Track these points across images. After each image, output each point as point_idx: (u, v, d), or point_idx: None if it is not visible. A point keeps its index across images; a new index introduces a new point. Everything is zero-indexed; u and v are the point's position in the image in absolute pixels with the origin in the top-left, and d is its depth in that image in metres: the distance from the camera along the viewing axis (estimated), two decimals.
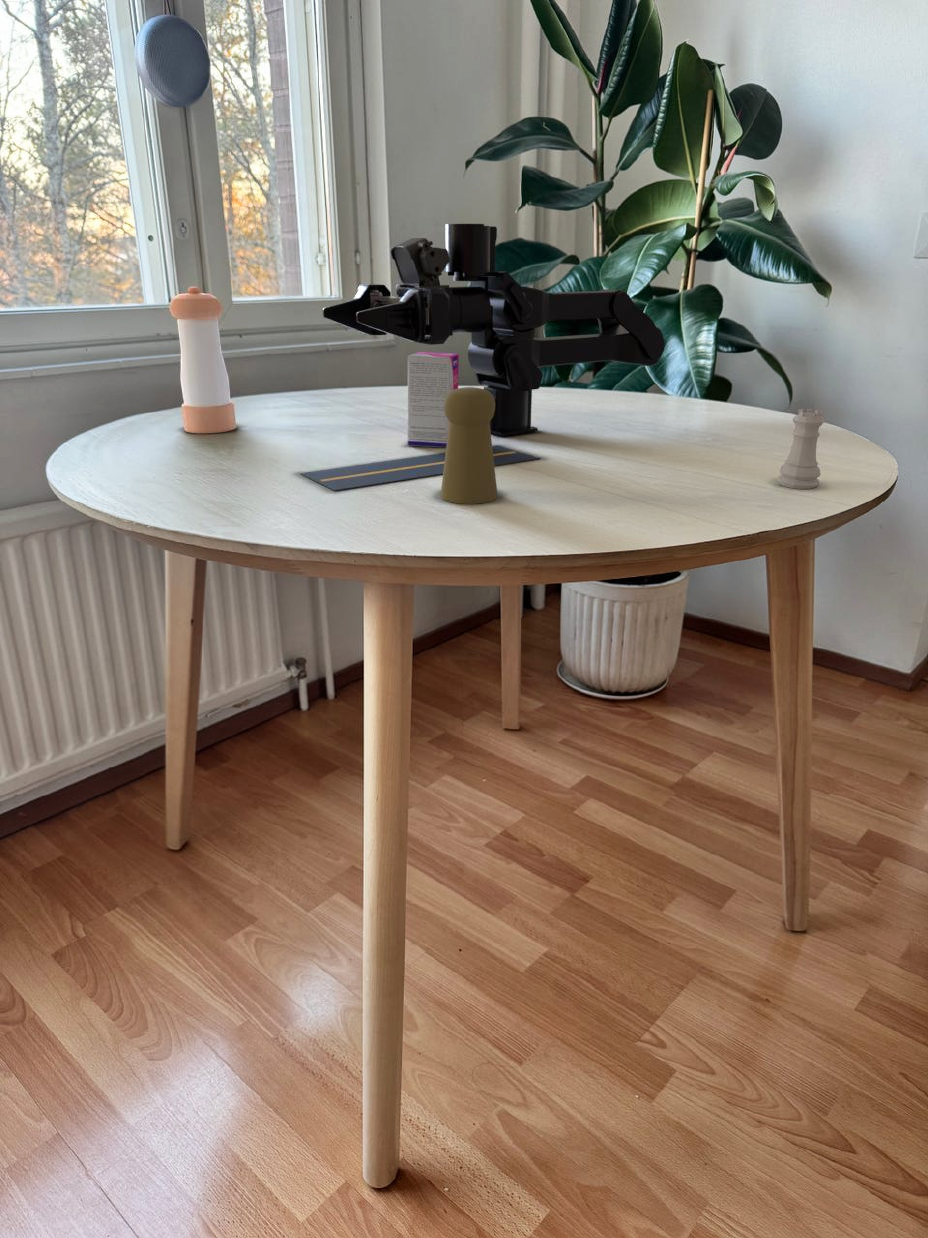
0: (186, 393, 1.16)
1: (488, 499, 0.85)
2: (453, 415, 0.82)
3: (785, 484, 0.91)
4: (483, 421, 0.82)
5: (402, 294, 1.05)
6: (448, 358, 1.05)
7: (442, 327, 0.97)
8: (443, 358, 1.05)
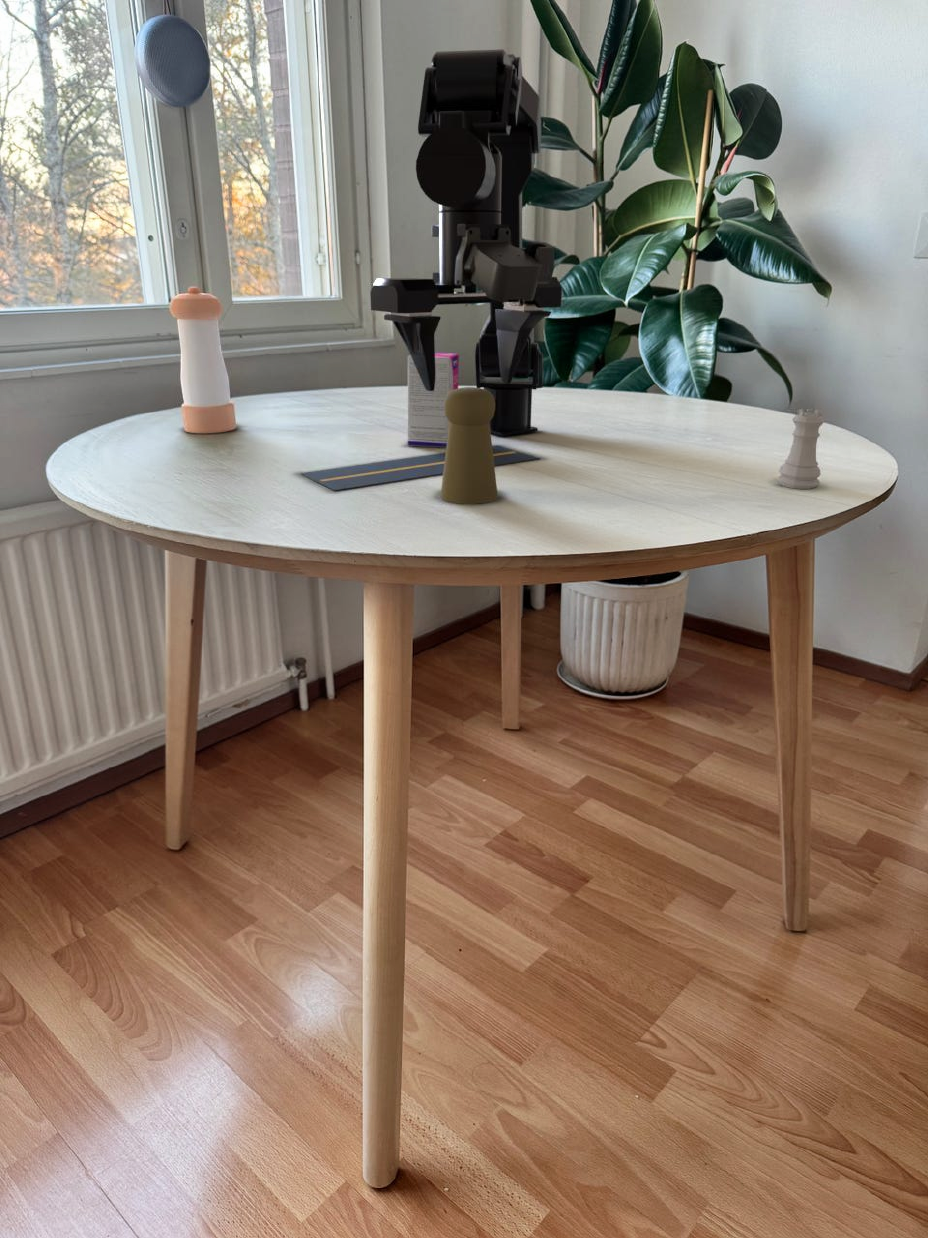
0: (186, 393, 1.16)
1: (488, 499, 0.85)
2: (453, 415, 0.82)
3: (785, 484, 0.91)
4: (483, 421, 0.82)
5: None
6: (448, 358, 1.05)
7: None
8: (443, 358, 1.05)
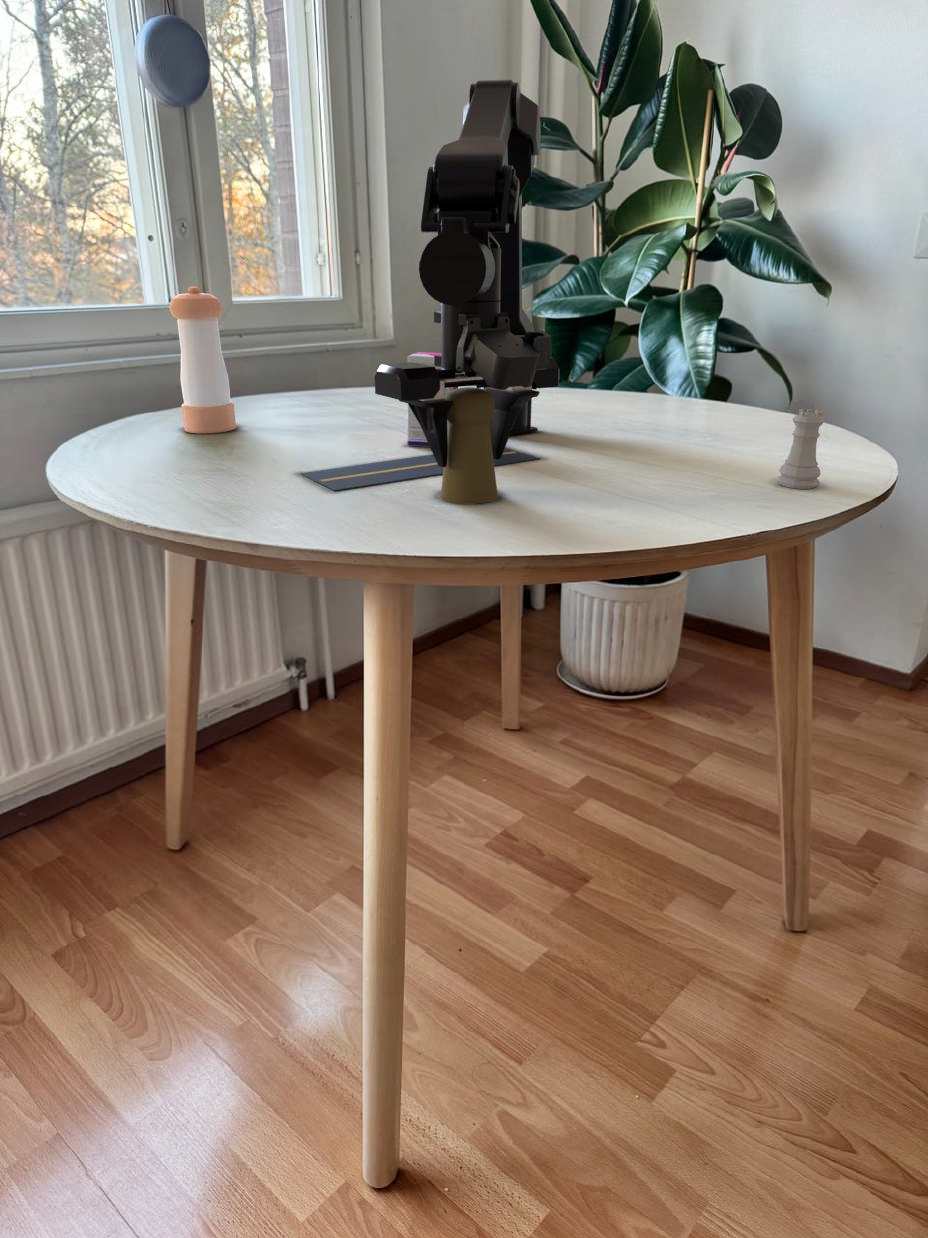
0: (186, 393, 1.16)
1: (488, 499, 0.85)
2: (452, 415, 0.82)
3: (785, 484, 0.91)
4: (482, 421, 0.82)
5: None
6: None
7: None
8: None
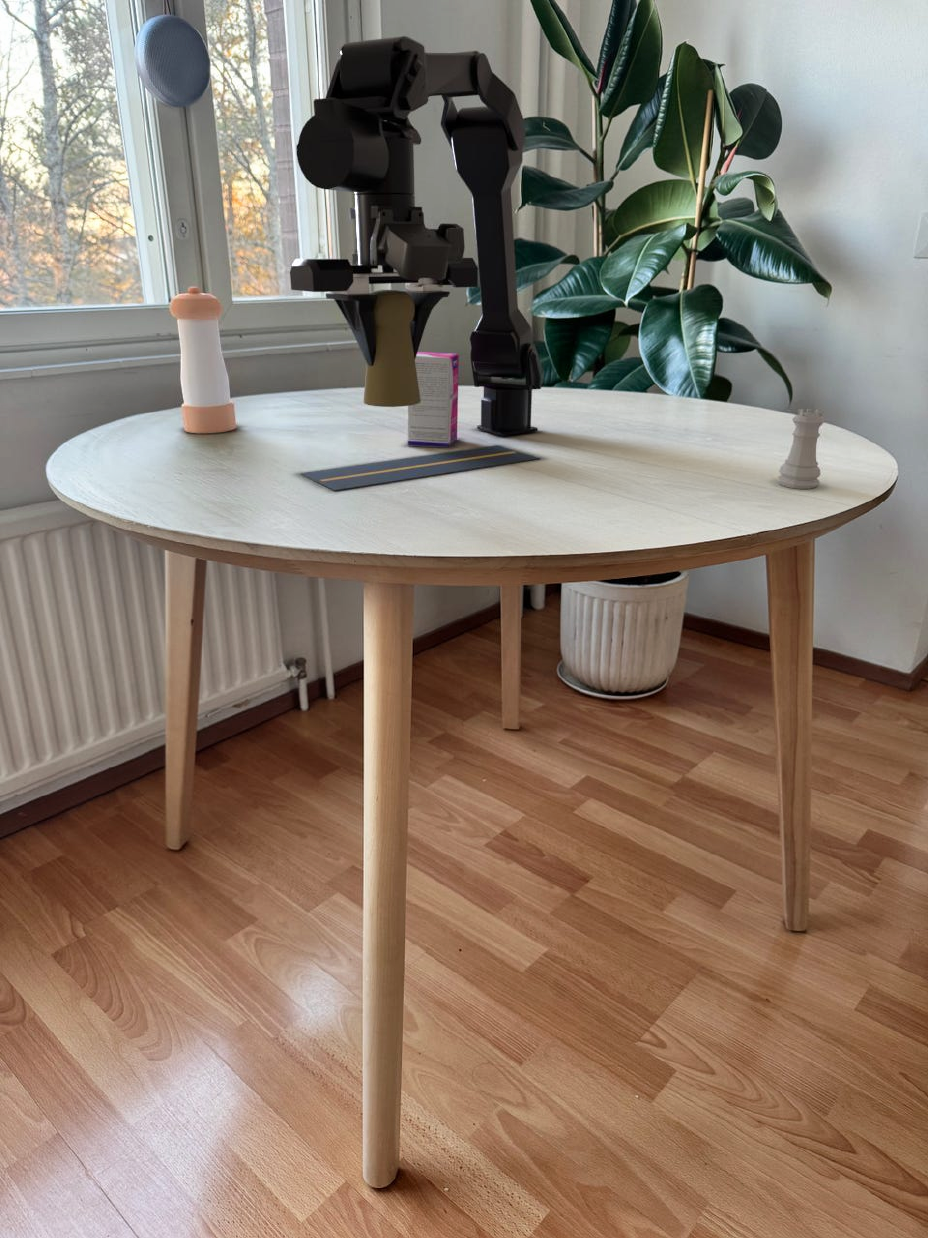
0: (186, 393, 1.16)
1: (409, 403, 0.86)
2: None
3: (785, 484, 0.91)
4: (401, 322, 0.83)
5: None
6: (448, 358, 1.05)
7: None
8: (443, 358, 1.05)
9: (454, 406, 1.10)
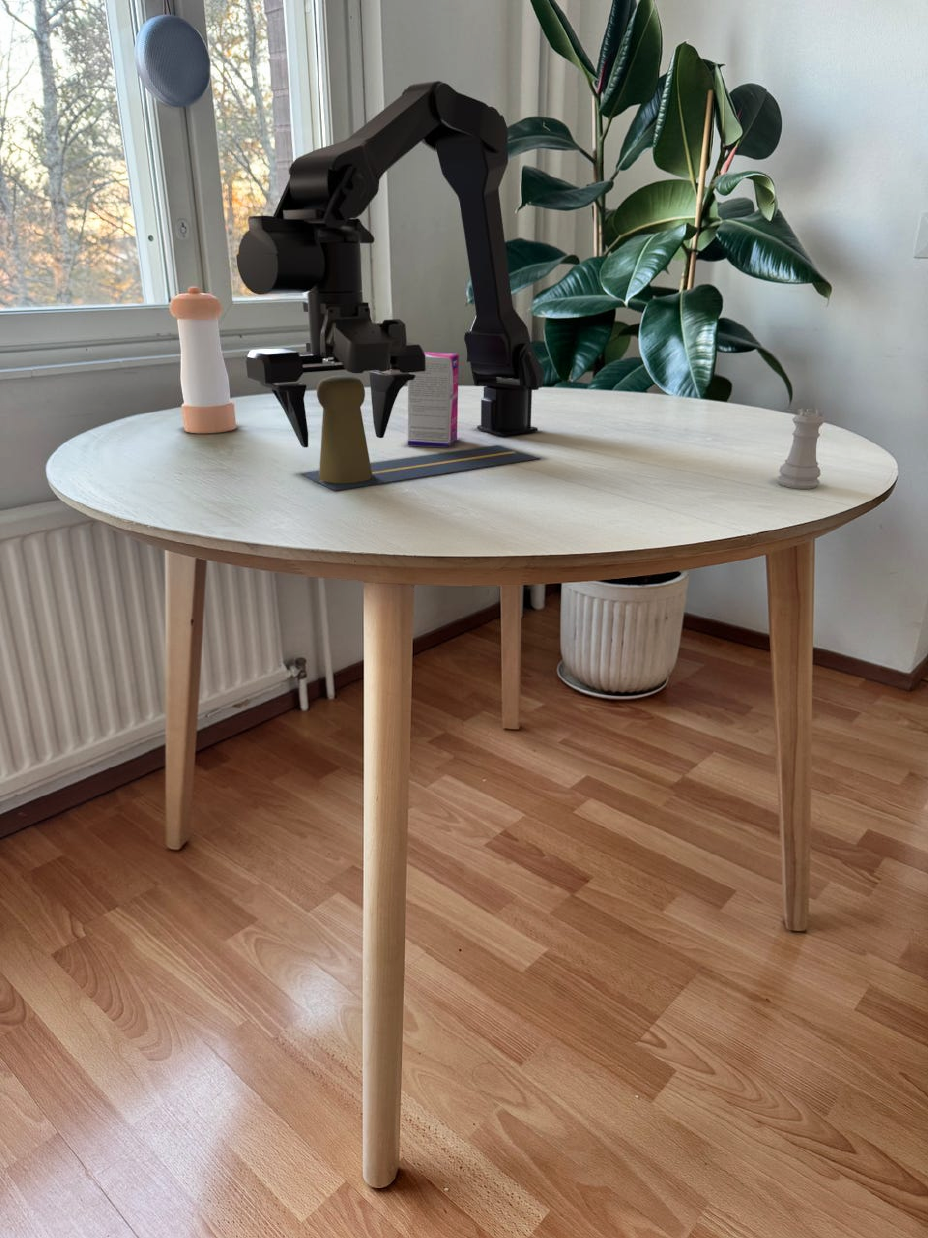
0: (186, 393, 1.16)
1: (360, 479, 0.92)
2: (323, 401, 0.89)
3: (785, 484, 0.91)
4: (351, 406, 0.89)
5: None
6: (448, 358, 1.05)
7: None
8: (443, 358, 1.05)
9: (454, 406, 1.10)
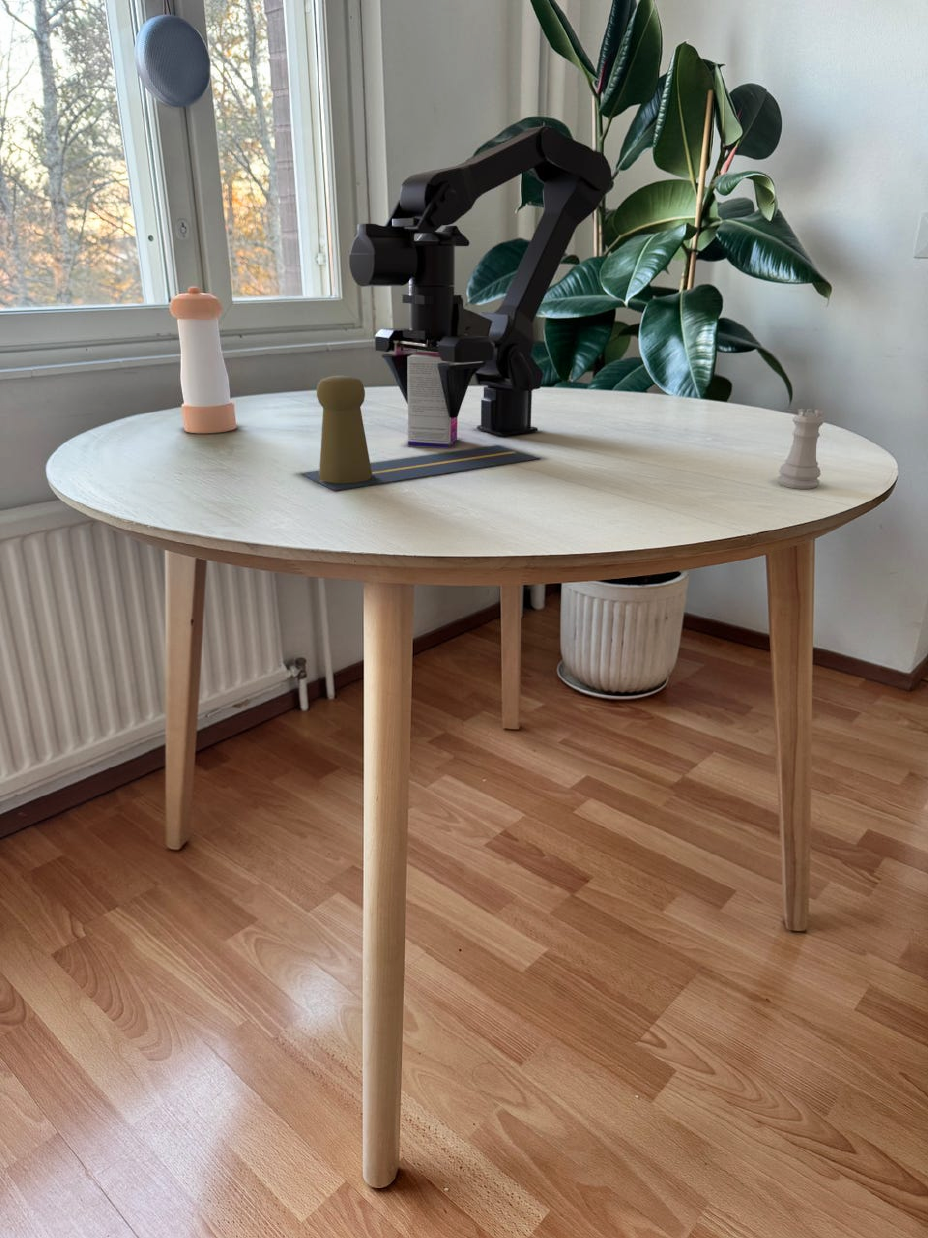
0: (186, 393, 1.16)
1: (360, 479, 0.92)
2: (323, 401, 0.89)
3: (785, 484, 0.91)
4: (351, 406, 0.89)
5: None
6: None
7: None
8: None
9: None
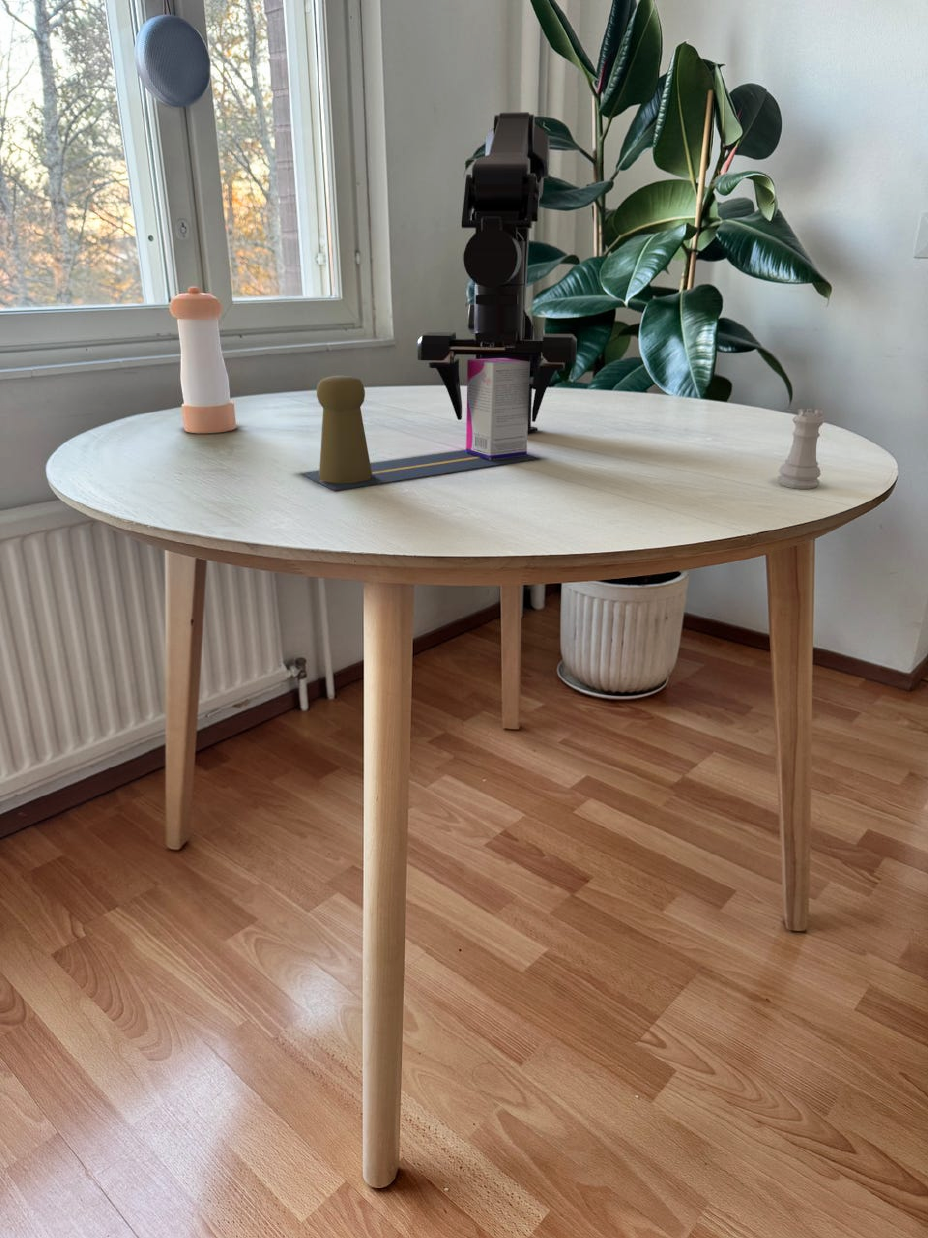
0: (186, 393, 1.16)
1: (360, 479, 0.92)
2: (323, 401, 0.89)
3: (785, 484, 0.91)
4: (351, 406, 0.89)
5: None
6: (528, 362, 1.00)
7: None
8: (524, 362, 0.99)
9: None
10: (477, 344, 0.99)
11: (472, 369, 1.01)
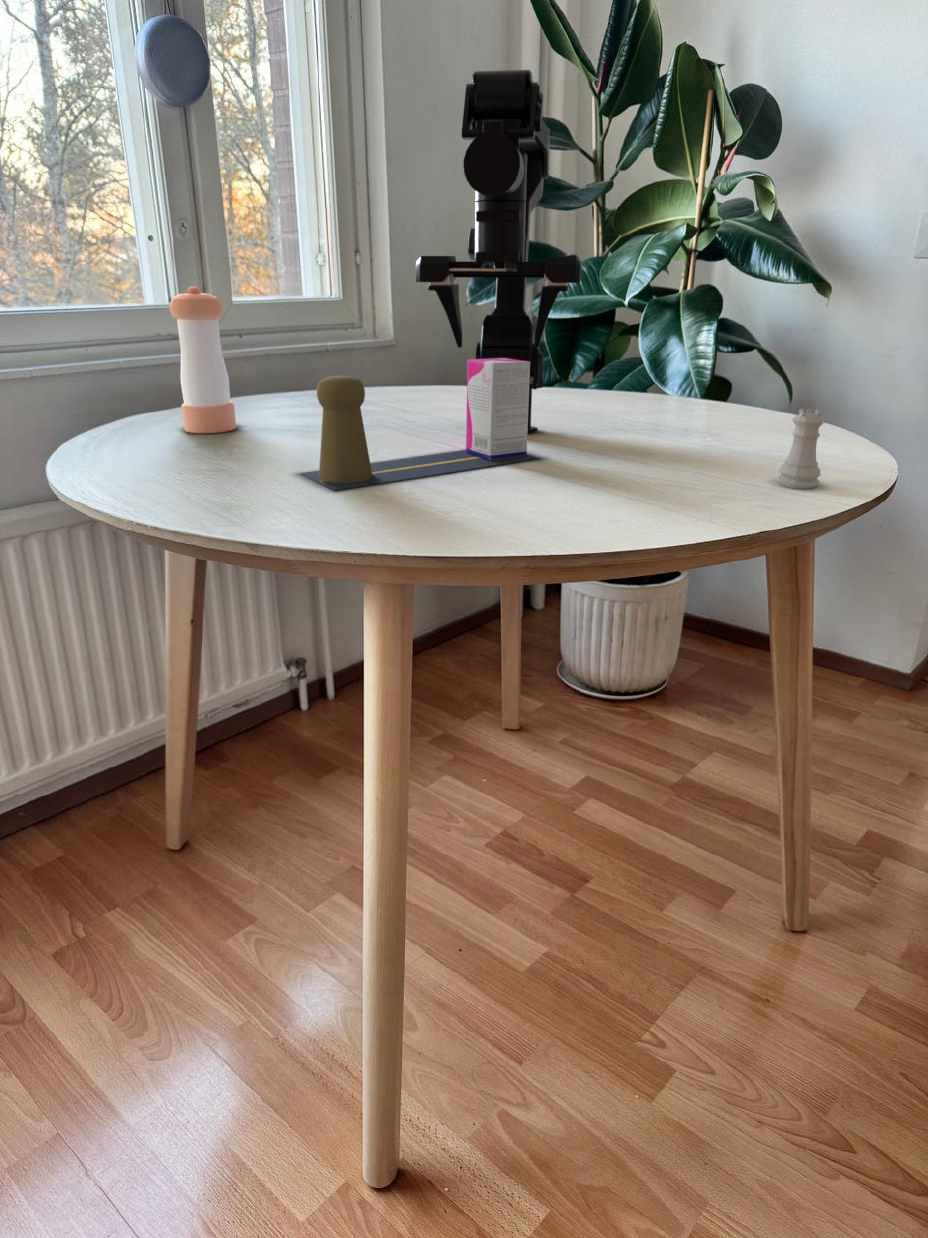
0: (186, 393, 1.16)
1: (360, 479, 0.92)
2: (323, 401, 0.89)
3: (785, 484, 0.91)
4: (351, 406, 0.89)
5: None
6: (528, 362, 1.00)
7: None
8: (524, 362, 0.99)
9: None
10: (478, 266, 0.96)
11: (472, 369, 1.01)
